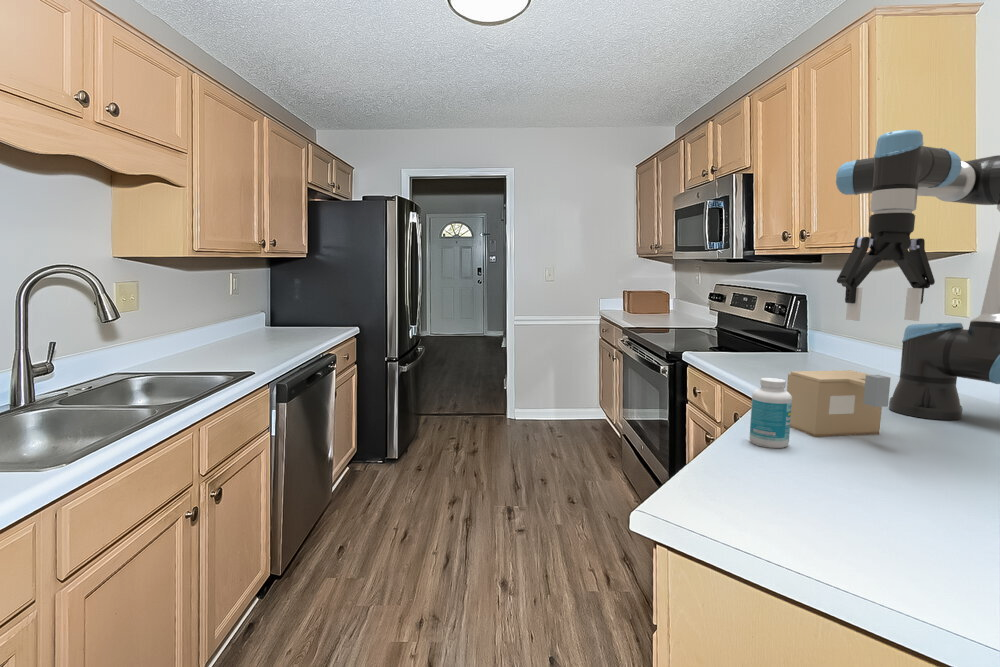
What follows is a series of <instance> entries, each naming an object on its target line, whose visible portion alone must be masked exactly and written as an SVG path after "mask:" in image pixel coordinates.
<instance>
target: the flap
mask: <svg viewBox="0 0 1000 667" xmlns="http://www.w3.org/2000/svg"><path fill="white" fill-rule="evenodd" d="M790 374H792V375H796V376H799V377H803V378H806V379H810V380H814V381H817V382H851V383H855V384H859V385H862V386H865V390H864V401H863V404H867V405H870V406H873V407H882V408H885V407H888V408H889V401H890V398H889V397H890V390H891V389H890V388H891V377H889V376H886V375H883V374H882V375H881V374H869V373H865V372H861V371H857V370H856V371H855V370H805V371H803V370H798V371H796V370H795V371H793V370H791V371H790Z"/></svg>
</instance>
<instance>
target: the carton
mask: <svg viewBox="0 0 1000 667" xmlns="http://www.w3.org/2000/svg"><path fill="white" fill-rule="evenodd" d="M786 382H787V385H786V391H787V392H788V393H790V395H791V396H792V407H791V420H790V429H794V430H796V431H799V432H801V433H804V434H806V435H808V436H811V437H813V438H827V437H831V438H833V437H849V436H850V437H853V436H855V437H856V436H876V435H877V436H879V435H880V431H881V419H882V409H883V407H873V406H870V405H867V404H863V401H864V390H865V386H862V385H859V384H855V383H851V382H817V381H814V380H810V379H806V378H803V377H799V376H796V375H792V374H791V373H787V381H786Z"/></svg>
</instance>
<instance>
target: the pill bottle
mask: <svg viewBox="0 0 1000 667" xmlns="http://www.w3.org/2000/svg"><path fill="white" fill-rule="evenodd" d="M759 382H760V383H759V384H760V386H761V387H760V388H756V389H755V390H753V392H752V395H751V406H750V407H751V408H750V410H751V411H750V426H749V440H750V442H751V443H752V444H754V445H757V446H760V447H762V448H763V447H764V448H769V449H771V448H772V449H782V448H786V447H788V445H789V443H790V432H791V427H790V420H791V407H792V396H791V395H790V393H788V392H787V390H785V387H787V385H786V382H787V380H785V379H781V378H775V377H761V378H760V381H759Z"/></svg>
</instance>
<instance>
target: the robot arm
mask: <svg viewBox="0 0 1000 667" xmlns="http://www.w3.org/2000/svg"><path fill="white" fill-rule="evenodd" d="M924 143H925V142H924V135H923V133H922V132H921V131H920V130H917V129H900V130H893V131H889V132H885V133H882V134H881V135H880V136H879V137H878V138H877V140H876V146H875V152H874V154H873V157H870V158H869V157H868V158H862V159H859V158H857V159H854V160H852V161H851V160H850V161H847V162H844V163H843V164H842V165H840V167H839V168H838V169H837V172H836V175H835V176H836V178H835V184H836V188H837V190H838V191H839V192H840V193H841V194H842V195H845V196H849V195H850V196H851V195H855V196H858V195H861V194H871V200H870V212H871V213H873V214H871V215H870V216H869V219H868V230H867V231H868V233H870V237H869V236H859V237H858V236H857V237H856V238H855V239H854V243H853V244H854V245H853V249H851V252H850V254H849V256H848V258H847V260H846V261H845V263H844V266H843V267H842V269H841V271H840V274H838V276H837V279H836V283H837V284H840V285H841V286H842V287H843V288H844V287H845V295H844V296H845V298H844V301H845V304H846V315H845V320H848V321H857V322H859V321H860V318H861V307H862V297H863V287H859V286H860V285H861V283H862V282H863V281H864V280H865V279H866V278H867V277H868V275H869V274H870V273H871V272H872V270H874V268H875V267H876V266H877V264H878V263H881V262H882V261H890V262H891V261H893V262H894V263H896V264H897V265H898V267H899V268H900V270H901V272H902V274H903V275H904V276H905V278H906V280H907V282H908V283H909V284H910V286H911V287H907V289H906V296H905V297H906V300H905V309H904V321H905V320H906V321H914V322H915V321H916V322H918V321H920V313H921V305H922V304H923V302H924V294H925V289H930V287H931V286H934V285H935V282H936V281H935V278H934V277H935V276H934V274H933V272H932V268H931V266H930V262H929V259H928V256H927V253H926V249H925V248H926V246H925V244H926V243H925V238H923V237H922V238H921V237H919V238H911V234H912V233H913V232H914V231H915V224H916V215H915V213H913V212H915V211H916V210H917V204H918V197H933V198H934V197H935V198H936V199H938V200H940V201H942V202H949V203H958V204H959V203H960V204H966V205H967V204H969V205H976V206H977V205H981V206H982V205H983V206H996V209H997V210H998V212H1000V155H999V154H998V155H991V156H986V157H982V158H976V159H970V160H963V161H962V159H961V157H960V156H959V155H958V153H956V152H955V151H953V150H949V149H946V148H943V147H939V148H937V147H931V146H926V145H924ZM983 298H984V299H983V301H982V306H981V311H980V314H979V315H978V316H977V317H975V318H973V319H972V320H970V322H969V327H968V328H967V329H966V328H965V329H964V326H963V323H961V322H945V323H944V322H943V323H940V322H939V323H914V324H909V325H908V326H906V327H905V328H904V332H903V333H904V334H903V338H902V341H901V342H902V343H901V344H902V347H901V348H902V350H901V359H900V372H899V380H898V383H897V385H896V386H895V388H894V391H893V393H892V396H891V397H890V398H889V400H888V409H889V410H890V411H892V412H895V413H898V414H902V415H905V416H910V417H916V418H923V419H930V420H941V421H945V420H946V421H947V420H948V421H949V420H950V421H952V420H953V421H954V420H961V418H963V406H962V405H961V402H960V398H959V397H960V396H959V393H958V388H957V380H958V379H957V378H963V379H967V380H968V379H969V380H975V381H979V382H980V381H981V382H987V383H991V384H996V385H1000V231H999V232H998V238H997V242H996V246H995V251H994V255H993V260H992V263H991V268H990V273H989V277H988V280H987V284H986V289H985V294H984V297H983Z"/></svg>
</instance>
